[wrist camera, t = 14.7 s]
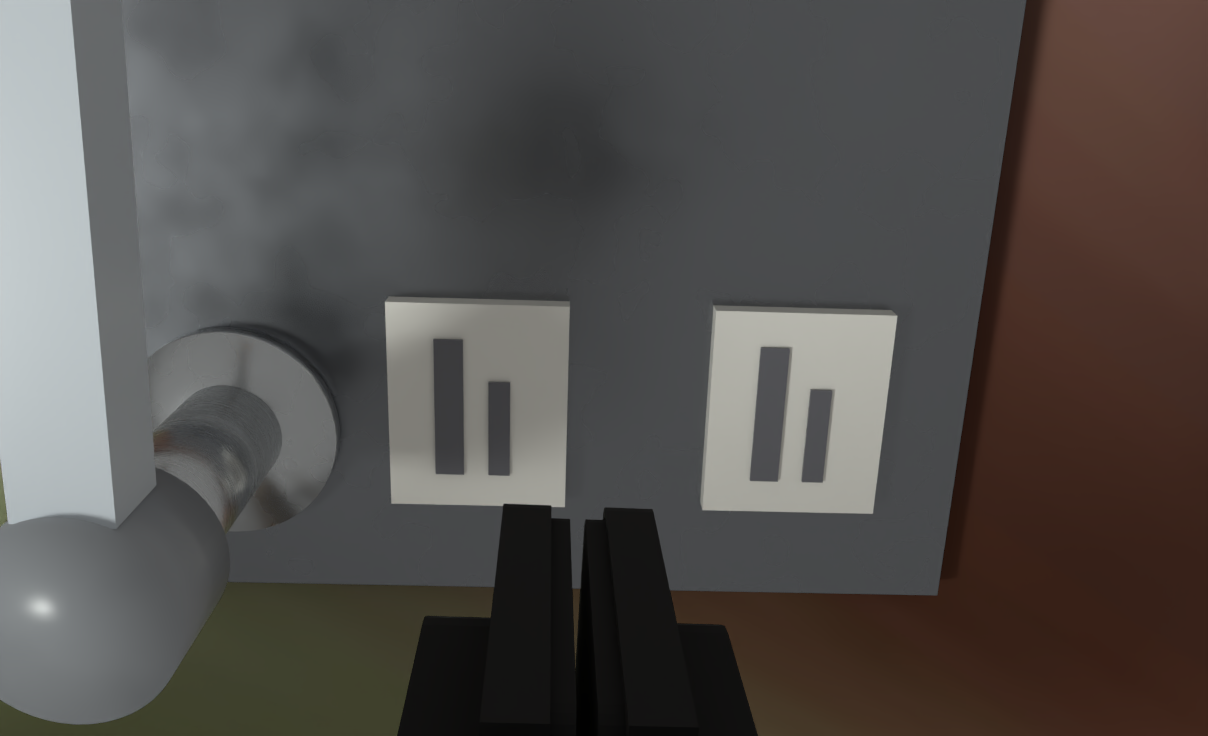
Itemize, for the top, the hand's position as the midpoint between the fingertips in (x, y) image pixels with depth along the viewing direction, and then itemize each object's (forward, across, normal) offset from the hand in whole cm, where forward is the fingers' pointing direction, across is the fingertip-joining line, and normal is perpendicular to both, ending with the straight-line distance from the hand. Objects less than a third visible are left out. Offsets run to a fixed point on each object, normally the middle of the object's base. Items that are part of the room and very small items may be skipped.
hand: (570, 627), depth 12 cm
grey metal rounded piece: (+19, +9, +5) cm, 22 cm away
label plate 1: (+19, +2, +4) cm, 20 cm away
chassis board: (+19, 0, 0) cm, 19 cm away
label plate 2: (+19, -7, +4) cm, 20 cm away
